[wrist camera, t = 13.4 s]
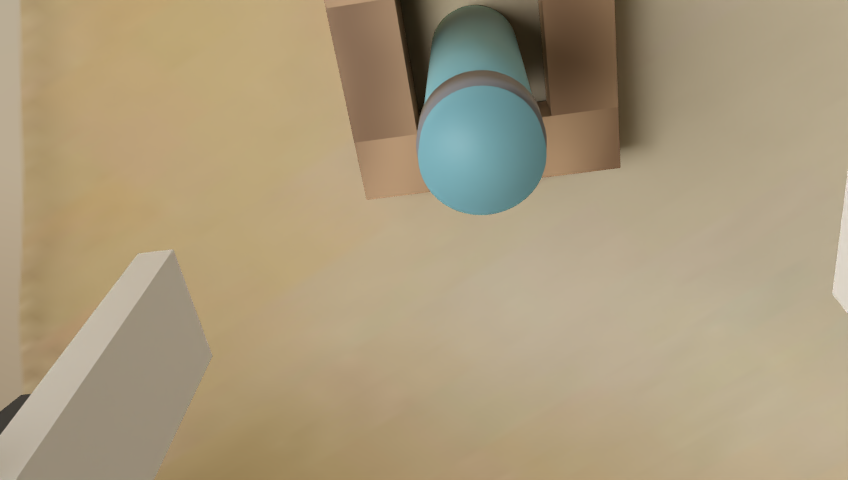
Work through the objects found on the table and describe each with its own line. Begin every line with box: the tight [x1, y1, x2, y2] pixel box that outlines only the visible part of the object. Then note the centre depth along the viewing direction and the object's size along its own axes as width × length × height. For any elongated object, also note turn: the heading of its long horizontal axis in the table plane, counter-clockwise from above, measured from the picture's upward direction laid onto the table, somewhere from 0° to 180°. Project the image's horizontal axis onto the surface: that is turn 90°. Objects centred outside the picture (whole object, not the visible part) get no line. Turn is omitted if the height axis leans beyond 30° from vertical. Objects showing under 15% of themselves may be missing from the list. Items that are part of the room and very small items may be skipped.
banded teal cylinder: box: [416, 5, 547, 215], centre depth 26 cm, size 4×4×12 cm
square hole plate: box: [324, 0, 620, 200], centre depth 30 cm, size 11×11×2 cm
